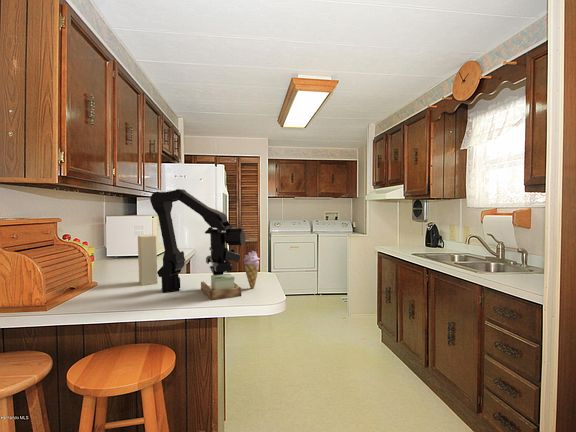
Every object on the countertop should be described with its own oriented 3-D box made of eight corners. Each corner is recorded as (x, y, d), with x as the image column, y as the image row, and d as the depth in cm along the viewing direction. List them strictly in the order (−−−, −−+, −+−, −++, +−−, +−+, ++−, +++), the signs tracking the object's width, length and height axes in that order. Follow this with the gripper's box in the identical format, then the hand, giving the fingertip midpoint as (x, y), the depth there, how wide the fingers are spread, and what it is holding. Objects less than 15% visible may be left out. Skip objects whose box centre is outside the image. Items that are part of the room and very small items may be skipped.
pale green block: (215, 295, 126) (214, 279, 126) (211, 291, 133) (210, 275, 133) (234, 292, 129) (234, 276, 129) (229, 288, 136) (229, 273, 136)
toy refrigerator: (159, 283, 153) (157, 235, 152) (141, 285, 149) (139, 236, 149) (156, 280, 160) (154, 234, 159) (139, 282, 156) (137, 235, 155)
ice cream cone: (263, 287, 142) (262, 250, 141) (257, 290, 136) (256, 252, 135) (248, 286, 144) (247, 249, 143) (241, 289, 138) (240, 252, 137)
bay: (210, 300, 124) (210, 291, 124) (201, 289, 141) (200, 281, 141) (241, 295, 129) (241, 287, 129) (228, 285, 145) (228, 278, 145)
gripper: (245, 247, 130) (246, 288, 131) (231, 240, 147) (232, 276, 148) (215, 249, 125) (217, 292, 127) (205, 242, 142) (206, 279, 144)
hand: (219, 284), depth 136 cm, fingers closed
